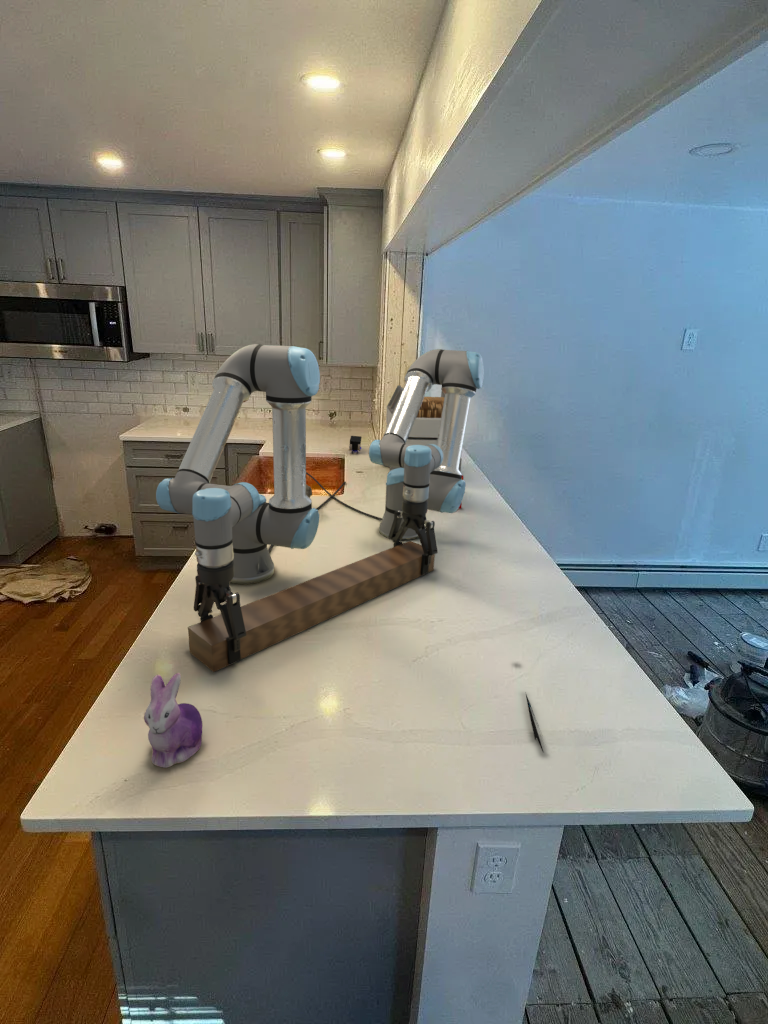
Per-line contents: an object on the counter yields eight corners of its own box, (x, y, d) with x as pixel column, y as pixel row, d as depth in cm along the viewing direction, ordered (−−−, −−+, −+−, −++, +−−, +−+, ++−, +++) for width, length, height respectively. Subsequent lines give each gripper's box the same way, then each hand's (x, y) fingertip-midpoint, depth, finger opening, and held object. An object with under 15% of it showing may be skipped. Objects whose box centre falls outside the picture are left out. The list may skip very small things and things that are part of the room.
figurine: (152, 779, 93) (143, 704, 88) (145, 738, 102) (136, 668, 97) (210, 760, 98) (205, 688, 92) (199, 723, 106) (193, 655, 101)
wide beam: (408, 559, 180) (410, 540, 177) (433, 570, 173) (435, 550, 171) (189, 652, 127) (187, 627, 125) (213, 672, 121) (211, 645, 119)
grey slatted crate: (382, 463, 289) (386, 382, 275) (445, 464, 293) (451, 384, 279) (390, 482, 257) (394, 392, 243) (460, 483, 261) (468, 394, 247)
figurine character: (361, 457, 304) (361, 447, 317) (361, 444, 301) (362, 434, 314) (348, 456, 304) (349, 447, 317) (348, 443, 300) (349, 434, 314)
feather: (517, 669, 129) (522, 662, 128) (543, 757, 102) (550, 750, 102) (511, 665, 129) (516, 659, 128) (535, 752, 102) (542, 745, 101)
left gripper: (172, 549, 125) (180, 637, 132) (229, 585, 110) (234, 681, 118) (203, 541, 130) (209, 625, 137) (261, 573, 115) (264, 666, 123)
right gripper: (378, 491, 170) (375, 559, 177) (437, 511, 155) (432, 584, 163) (395, 487, 175) (391, 553, 183) (454, 506, 161) (447, 576, 168)
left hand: (221, 651), depth 127 cm, fingers closed on wide beam, 10 cm apart
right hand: (410, 567), depth 173 cm, fingers closed on wide beam, 10 cm apart
